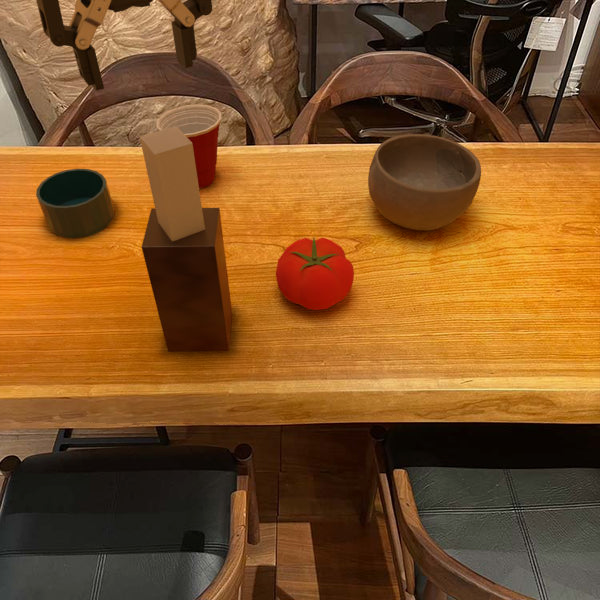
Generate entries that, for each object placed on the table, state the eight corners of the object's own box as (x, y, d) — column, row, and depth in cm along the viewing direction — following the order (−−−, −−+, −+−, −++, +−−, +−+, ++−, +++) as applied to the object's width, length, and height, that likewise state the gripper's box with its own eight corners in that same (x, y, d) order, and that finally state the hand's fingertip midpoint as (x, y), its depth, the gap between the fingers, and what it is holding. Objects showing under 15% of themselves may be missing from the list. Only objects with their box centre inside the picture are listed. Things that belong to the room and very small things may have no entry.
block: (172, 242, 64) (154, 154, 56) (158, 222, 67) (139, 136, 59) (205, 229, 66) (192, 142, 58) (190, 211, 68) (176, 125, 60)
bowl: (467, 185, 103) (479, 134, 96) (472, 251, 91) (487, 198, 83) (368, 177, 105) (374, 126, 98) (361, 240, 92) (366, 187, 85)
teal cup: (58, 246, 91) (46, 215, 87) (40, 211, 98) (28, 181, 93) (123, 224, 95) (115, 193, 91) (102, 191, 102) (93, 161, 97)
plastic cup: (190, 156, 109) (181, 95, 101) (239, 172, 106) (234, 110, 97) (154, 186, 103) (141, 123, 94) (205, 203, 99) (196, 140, 90)
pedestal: (167, 351, 77) (141, 247, 64) (174, 312, 82) (151, 208, 69) (228, 350, 77) (214, 246, 64) (232, 311, 82) (219, 207, 69)
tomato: (276, 268, 88) (275, 229, 83) (349, 267, 88) (352, 228, 83) (275, 320, 80) (274, 281, 75) (355, 319, 81) (359, 280, 75)
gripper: (171, -159, 47) (196, 45, 59) (-15, -142, 42) (53, 78, 53) (211, -144, 43) (230, 73, 54) (9, -124, 37) (77, 112, 49)
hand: (142, 75), depth 54 cm, fingers open, 8 cm apart
